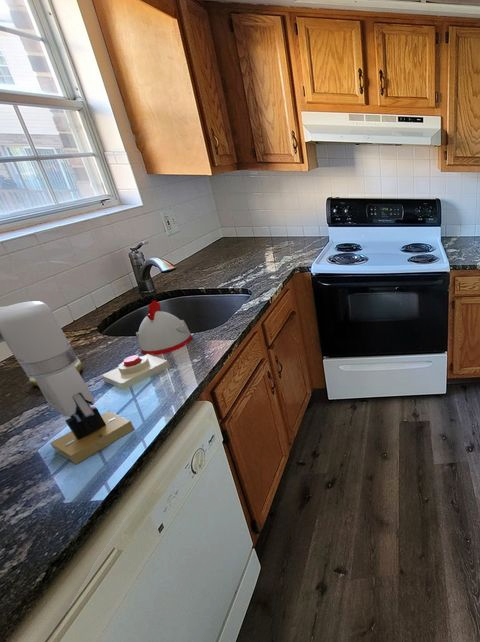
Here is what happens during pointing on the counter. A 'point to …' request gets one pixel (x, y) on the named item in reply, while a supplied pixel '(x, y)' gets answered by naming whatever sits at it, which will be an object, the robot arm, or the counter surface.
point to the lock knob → (76, 430)
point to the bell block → (135, 372)
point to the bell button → (132, 360)
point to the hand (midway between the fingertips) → (90, 429)
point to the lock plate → (92, 438)
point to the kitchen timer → (162, 332)
